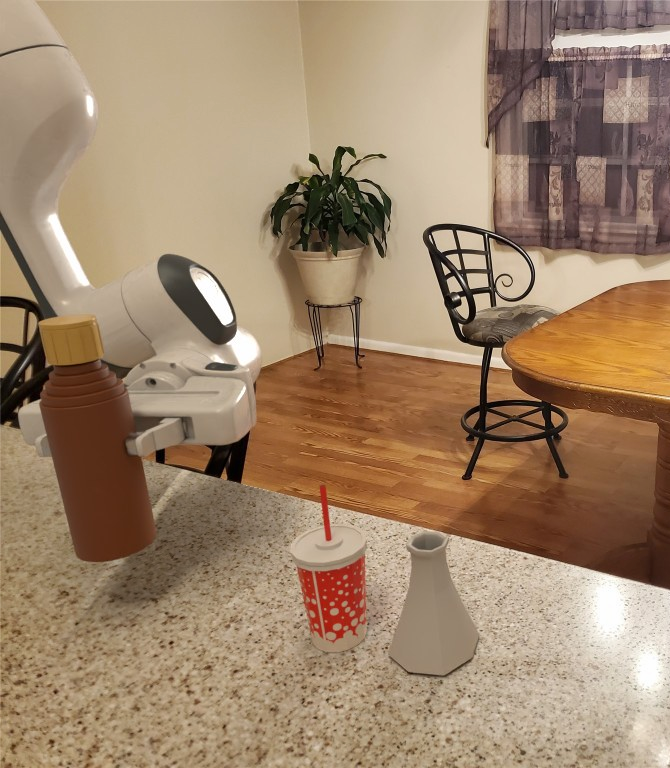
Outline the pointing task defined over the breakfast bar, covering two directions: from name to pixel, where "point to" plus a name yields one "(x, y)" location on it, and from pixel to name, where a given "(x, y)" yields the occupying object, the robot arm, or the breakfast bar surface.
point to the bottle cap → (71, 339)
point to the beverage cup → (333, 582)
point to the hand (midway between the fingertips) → (89, 449)
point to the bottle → (96, 461)
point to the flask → (432, 613)
